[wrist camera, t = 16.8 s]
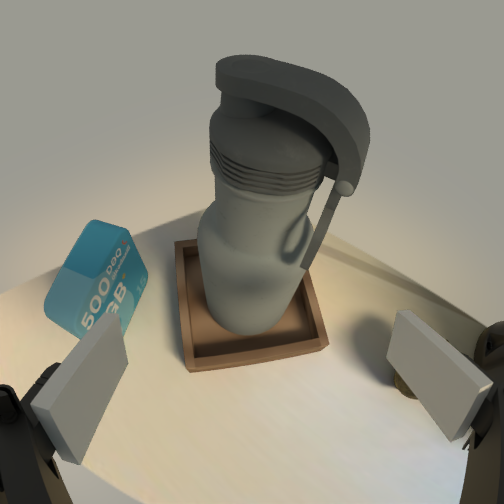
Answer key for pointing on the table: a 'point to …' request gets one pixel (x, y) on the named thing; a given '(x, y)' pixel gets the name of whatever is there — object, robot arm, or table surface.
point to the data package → (97, 280)
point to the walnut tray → (233, 345)
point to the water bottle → (272, 183)
